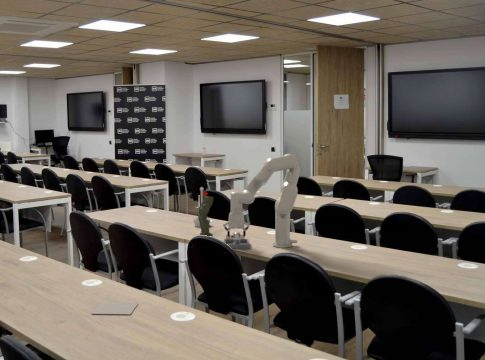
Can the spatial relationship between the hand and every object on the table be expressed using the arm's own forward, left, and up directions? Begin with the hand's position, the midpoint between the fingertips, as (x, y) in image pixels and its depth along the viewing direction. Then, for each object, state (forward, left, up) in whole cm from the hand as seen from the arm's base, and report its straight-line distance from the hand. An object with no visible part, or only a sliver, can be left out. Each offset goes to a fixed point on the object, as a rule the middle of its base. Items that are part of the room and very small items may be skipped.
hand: (236, 237), depth 337 cm
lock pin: (0, 0, -5) cm, 5 cm away
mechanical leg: (+20, -28, -6) cm, 35 cm away
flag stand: (+23, -68, -6) cm, 72 cm away
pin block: (0, -17, -6) cm, 18 cm away
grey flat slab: (+63, +113, -7) cm, 130 cm away
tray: (0, 0, -6) cm, 6 cm away
